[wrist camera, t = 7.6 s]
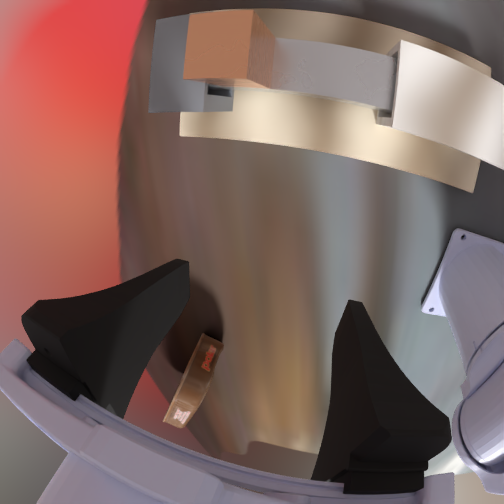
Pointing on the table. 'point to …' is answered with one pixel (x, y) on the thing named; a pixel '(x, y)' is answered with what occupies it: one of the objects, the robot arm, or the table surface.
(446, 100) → the tube stand
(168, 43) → the socket
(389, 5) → the table surface
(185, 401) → the tin
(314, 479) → the robot arm
